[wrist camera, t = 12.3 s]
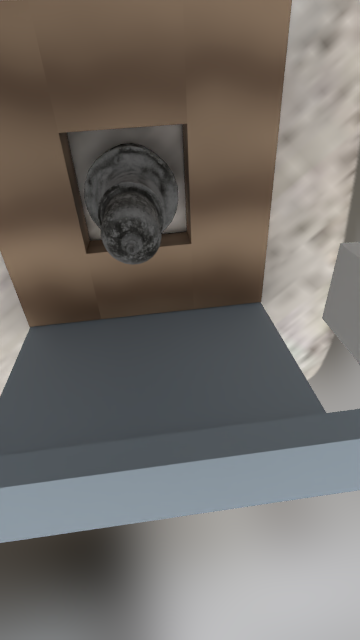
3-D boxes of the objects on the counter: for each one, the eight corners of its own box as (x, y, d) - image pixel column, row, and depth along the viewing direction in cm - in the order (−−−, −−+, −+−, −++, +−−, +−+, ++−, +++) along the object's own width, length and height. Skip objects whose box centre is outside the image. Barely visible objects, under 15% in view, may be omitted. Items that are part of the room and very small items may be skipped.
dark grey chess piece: (131, 117, 22) (129, 141, 12) (189, 187, 24) (226, 252, 15) (72, 182, 23) (28, 249, 14) (133, 240, 26) (132, 330, 17)
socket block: (-69, 14, 18) (-95, 5, 16) (276, -3, 19) (293, -14, 17) (37, 310, 29) (29, 326, 27) (252, 287, 30) (261, 301, 28)
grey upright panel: (22, 286, 27) (-100, 501, 13) (260, 262, 29) (386, 435, 14) (38, 330, 30) (-49, 549, 16) (256, 306, 31) (359, 490, 17)
